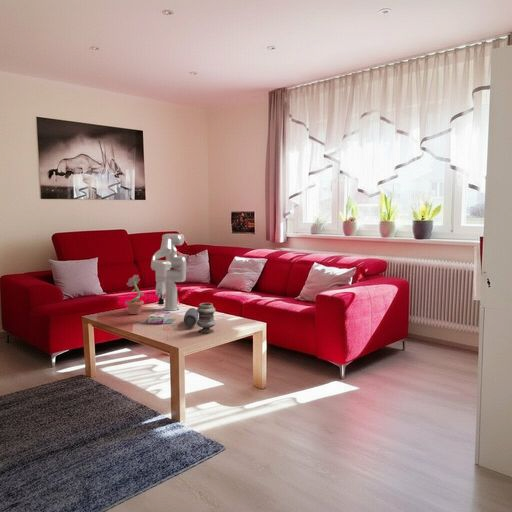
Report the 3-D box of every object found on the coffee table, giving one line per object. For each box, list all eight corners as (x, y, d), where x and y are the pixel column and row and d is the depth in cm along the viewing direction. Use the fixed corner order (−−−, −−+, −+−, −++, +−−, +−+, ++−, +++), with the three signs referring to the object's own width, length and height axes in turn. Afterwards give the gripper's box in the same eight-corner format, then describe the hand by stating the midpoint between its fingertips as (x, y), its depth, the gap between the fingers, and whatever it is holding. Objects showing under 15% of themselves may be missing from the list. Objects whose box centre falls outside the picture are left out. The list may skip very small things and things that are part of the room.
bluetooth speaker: (197, 328, 299) (197, 314, 298) (183, 329, 298) (182, 314, 297) (199, 321, 321) (199, 307, 320) (185, 321, 320) (185, 307, 320)
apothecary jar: (195, 333, 286) (195, 305, 285) (198, 328, 298) (198, 302, 297) (214, 334, 286) (214, 305, 284) (216, 329, 298) (216, 302, 296)
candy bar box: (154, 318, 327) (147, 323, 311) (154, 311, 327) (147, 316, 310) (170, 318, 326) (163, 323, 310) (170, 311, 325) (163, 316, 309)
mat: (148, 318, 326) (148, 318, 326) (176, 319, 325) (176, 318, 325) (142, 323, 312) (142, 322, 312) (171, 324, 311) (171, 323, 311)
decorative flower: (137, 311, 353) (136, 272, 350) (148, 313, 345) (148, 274, 342) (121, 314, 341) (120, 274, 338) (133, 316, 333) (132, 276, 330)
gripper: (158, 277, 328) (158, 302, 330) (152, 280, 313) (153, 306, 315) (168, 277, 328) (169, 302, 329) (163, 280, 313) (163, 306, 315)
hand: (161, 304), depth 322 cm, fingers closed
